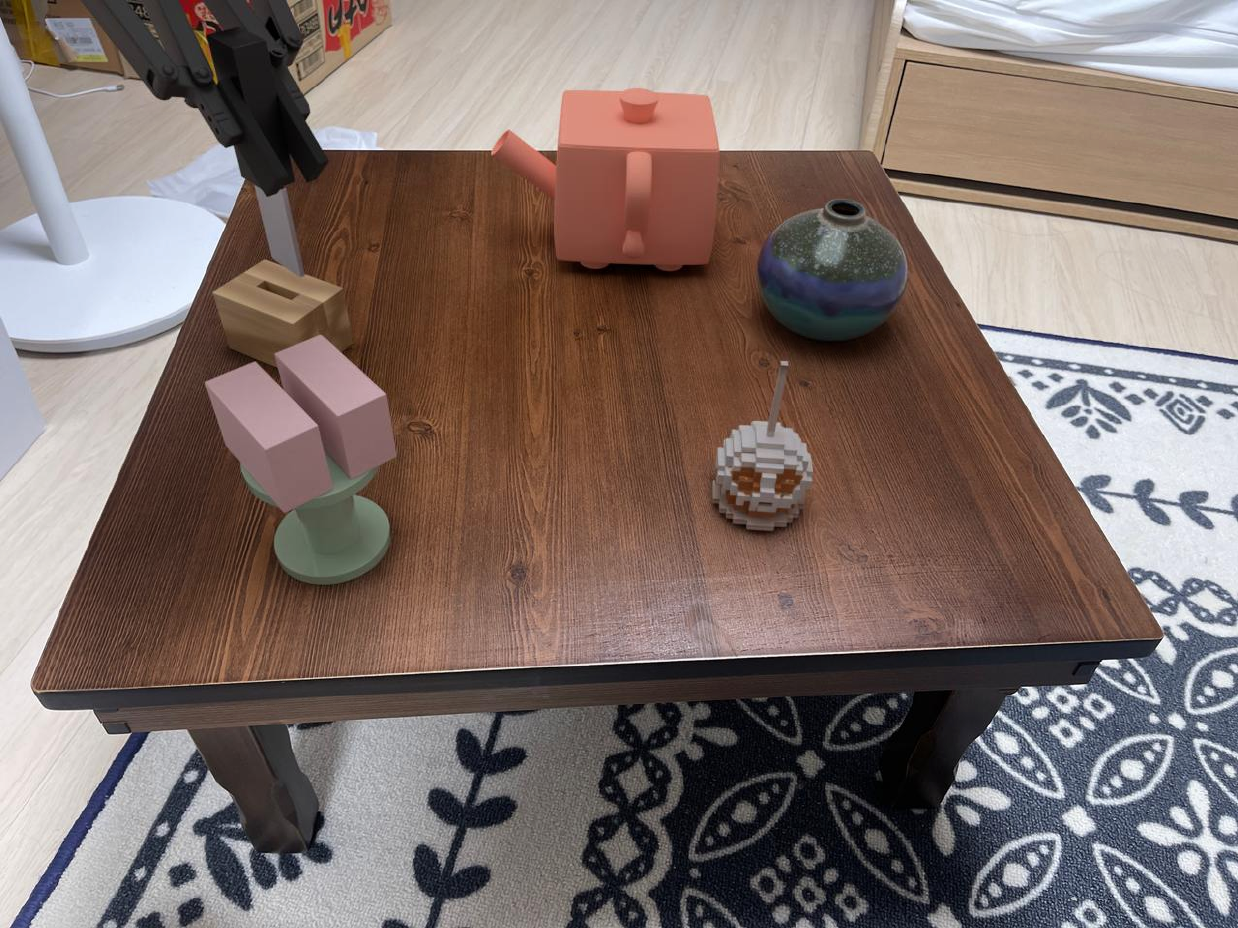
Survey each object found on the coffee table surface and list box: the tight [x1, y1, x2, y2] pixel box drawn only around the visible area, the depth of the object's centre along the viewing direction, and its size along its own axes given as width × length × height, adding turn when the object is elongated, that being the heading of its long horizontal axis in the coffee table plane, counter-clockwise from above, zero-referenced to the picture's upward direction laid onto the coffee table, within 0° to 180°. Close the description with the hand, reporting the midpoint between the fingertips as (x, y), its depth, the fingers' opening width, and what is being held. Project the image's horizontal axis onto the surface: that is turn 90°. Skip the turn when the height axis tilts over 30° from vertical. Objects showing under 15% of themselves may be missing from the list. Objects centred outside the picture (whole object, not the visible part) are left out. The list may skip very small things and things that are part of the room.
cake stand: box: [239, 451, 392, 586], centre depth 72 cm, size 10×10×10 cm
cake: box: [204, 335, 397, 514], centre depth 67 cm, size 9×9×6 cm
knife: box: [205, 27, 306, 277], centre depth 61 cm, size 2×4×16 cm, turn 47°
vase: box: [756, 198, 909, 342], centre depth 97 cm, size 15×15×13 cm
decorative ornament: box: [711, 360, 814, 532], centre depth 76 cm, size 8×8×15 cm
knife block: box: [212, 259, 354, 369], centre depth 92 cm, size 7×10×7 cm
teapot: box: [490, 87, 720, 272], centre depth 105 cm, size 25×23×18 cm
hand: (297, 178), depth 59 cm, fingers closed on knife, 2 cm apart
